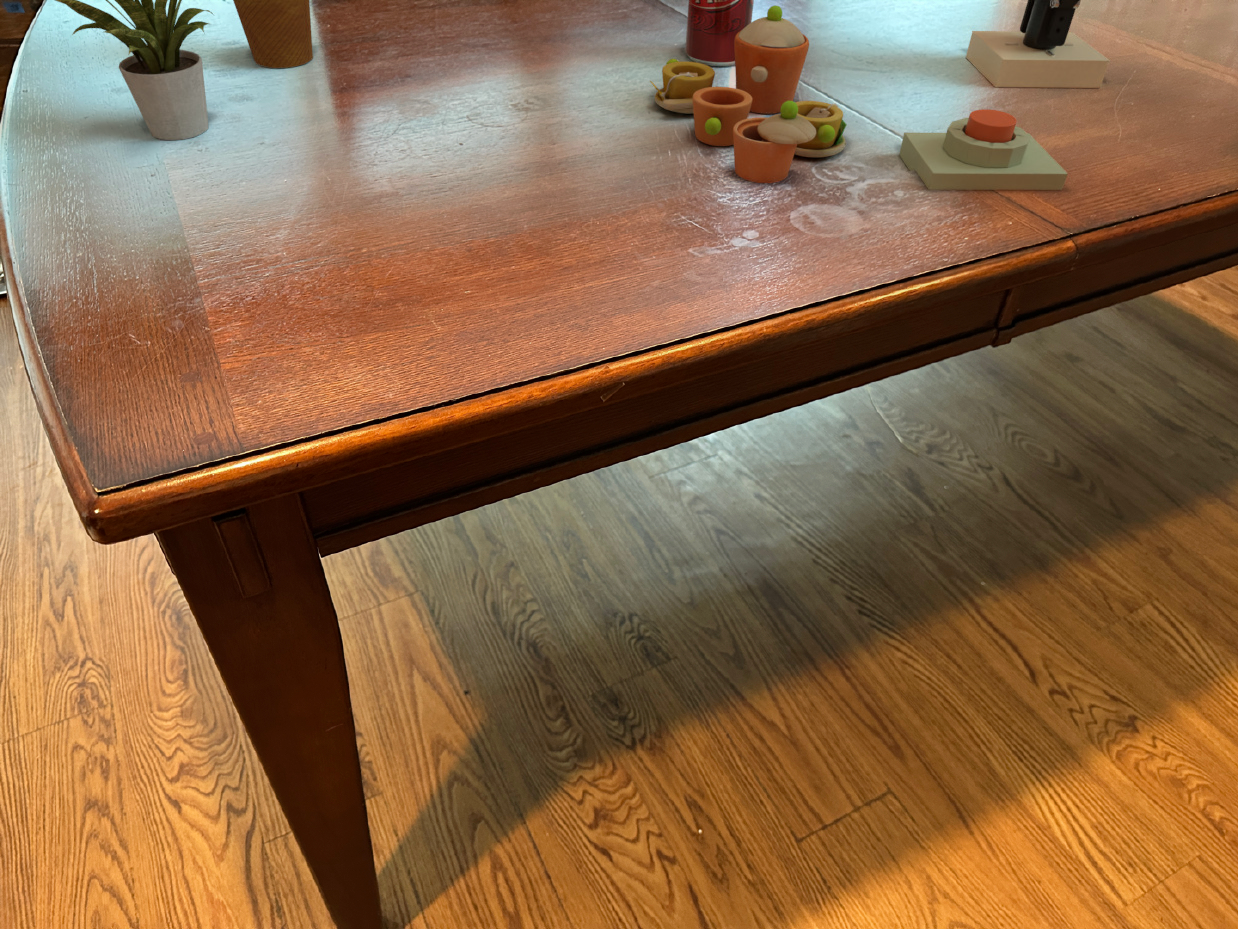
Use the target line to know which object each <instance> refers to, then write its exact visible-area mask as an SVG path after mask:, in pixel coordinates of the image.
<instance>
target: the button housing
mask: <svg viewBox="0 0 1238 929" xmlns="http://www.w3.org/2000/svg"><path fill="white" fill-rule="evenodd" d="M968 119H969V117H965V118H961V119H956V120H953V121H951V123H950V124H949V125H948V127H947V129H946V132H904V133H903V137H902V140H901V145H900V149H899V154H898V155H899V157H900V158H901V160H902V162H903V163H904V164H905V166H906V168H907V169H908V170H909V171H912V172H913V171H915V172H916V173H917V175H918V177H920V179H921V181H922V182H923V184H924V185H925V186H926V188H927V190H931V191H934V190H935V191H936V190H940V191H942V190H943V191H946V190H953V191H954V190H956V191H959V190H961V191H962V190H963V191H964V190H967V191H969V190H970V191H971V190H973V191H976V190H979V191H984V190H985V191H986V190H987V191H989V190H990V191H999V190H1000V191H1030V190H1031V191H1062V190H1064V189H1063V188H1064V186H1065V183H1066V180H1067V177H1068V172H1067V171H1066V170H1065V169H1064V168H1063V167H1062V166H1061V165H1060V164H1059V163H1058V161H1056V159H1055V158H1054V157H1052V155H1050V153H1049V152H1048V151H1047V150H1046V149H1045V148H1044V147H1043V146H1042V145H1041V144H1040V143H1039V142H1038V141H1037V140H1036V139H1035V138H1034V137H1033V136H1032V134H1030V133H1029V132H1028V133H1027V132H1026V131H1025V130H1024V129H1023V128H1022V127H1019V126H1017V125H1016V126H1015V129H1014V132H1013V135H1012V139H1011V141H1009V142H1006V143H990V142H985V141H980V140H976V139H973V138H971V137H969V136H967V135H965V130H966V126H967V123H968Z"/></svg>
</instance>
